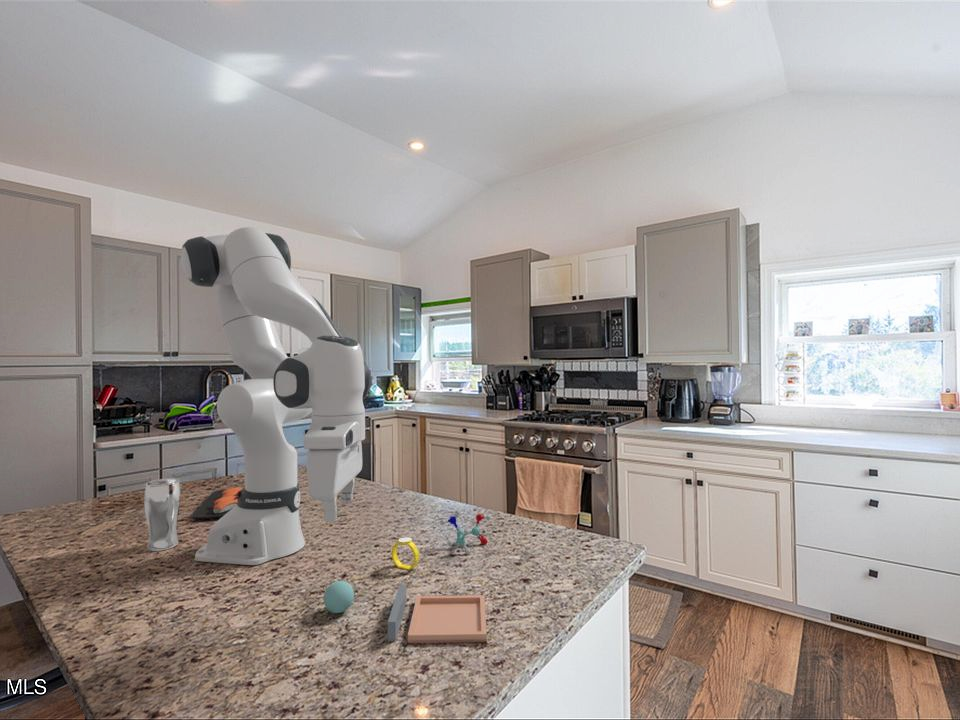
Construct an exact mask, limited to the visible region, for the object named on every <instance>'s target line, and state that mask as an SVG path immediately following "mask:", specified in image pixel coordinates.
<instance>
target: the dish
mask: <svg viewBox="0 0 960 720" xmlns="http://www.w3.org/2000/svg"><path fill="white" fill-rule="evenodd" d="M485 597H486V596H485V594H484V595H483V594H482V595H481V594H477V595H476V594H475V595H474V594H472V595H471V594H470V595H469V594H466V595H464V594H463V595H416V598H415V602H414V607H413V611H412V616H411V620H410V624H409V627H408V632H407V644H439V643H441V644H442V643H445V644H446V643H448V644H449V643H452V644H453V643H487V642H488V641H487V638H488V637H487V636H488V634H487V631H488V630H487V615H486V602H485V601H486V599H485Z"/></svg>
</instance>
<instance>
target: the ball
mask: <svg viewBox="0 0 960 720" xmlns="http://www.w3.org/2000/svg"><path fill="white" fill-rule="evenodd" d="M354 599H355V591H354V588H353V587H352V585H351V584H350V583H349V582H347V581H345V580H336V581H334V582H332V583H331V584H330V585H329V586H328V587H326V590H325V592H324V593H323V604H324V606H325V608H326V610H328V611H329V612H330V613H333V614H342V613H344V612H346V611H347V610H349V608H350V607H351V606H352V605H353V601H354Z"/></svg>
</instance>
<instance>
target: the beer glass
mask: <svg viewBox="0 0 960 720" xmlns="http://www.w3.org/2000/svg"><path fill="white" fill-rule="evenodd" d="M180 487H181V485H180V479H179V478H172V477H171V478H160V479H154V480H151V481H147V482H146V483H145V489H144V498H143V499H144V500H143V501H144V512H145V518H146V523H147V526H148V540H147V545H146V550H147V552H148V551H149V552H162V551H167V550H169V549H170V550H171V549H172V548H175V547H176V546H178V545H179V539H178V533H177V524H178V519H179V514H180V513H179V512H180V507H181V488H180Z"/></svg>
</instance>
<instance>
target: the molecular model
mask: <svg viewBox="0 0 960 720" xmlns="http://www.w3.org/2000/svg"><path fill="white" fill-rule="evenodd" d="M460 515H461V511H460V510H459V509H456V510H455V512H454V515H453V516H450V518H449V519H444V518H443V519H440V521H439V523H440V525H441V526H445V525H446V524H448V523H449V524H451V525H453V526H454V527H455V529H456V531H457V532H456V536H457V537H456V538H455V539H454V540H452V539H449V540H448V541H447V545H448V546H449V547H452V546H453V545H455V546H458V545H460V546H462V547H463V549H464V553H465V554H466V555H470V554H471V550H470V548H468V547H467V545H466V537H467V536H468V535H470V534H471V535H473V536H476V537H477V538H478V539H479V541H480V543H481V545H483V546H485V545H487V543H488V539H487V538H486V537H484V536H483V535H482V534H481V532H480V528H479V525H480V521H482V520H486V521H490V520H491V519H492V516H491V515H490V514H487V515H483V514H481V513H478V514H476V515H475V519H476V523H475V526H474V527H473V528H472V529H471V530H469V529H467V528H466V529H465V530H462V529H460V527H459V526H458V524H457V517H458V516H460Z"/></svg>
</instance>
